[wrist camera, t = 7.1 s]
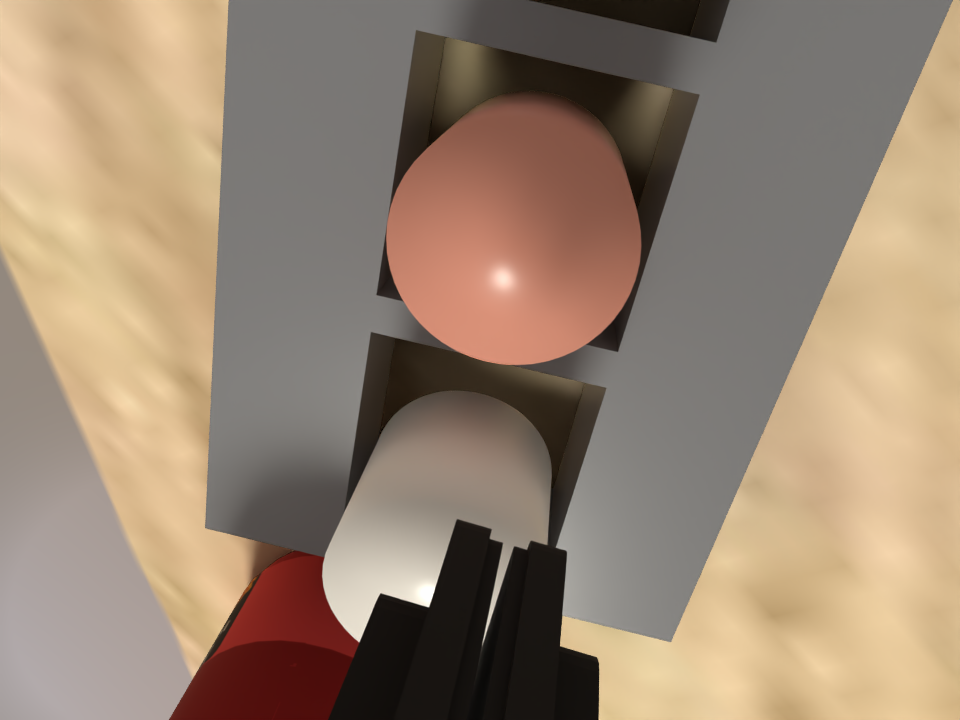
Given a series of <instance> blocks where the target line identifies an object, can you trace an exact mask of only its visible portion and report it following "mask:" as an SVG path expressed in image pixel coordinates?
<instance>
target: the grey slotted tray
mask: <svg viewBox="0 0 960 720" xmlns="http://www.w3.org/2000/svg"><path fill="white" fill-rule="evenodd" d="M952 1H953V0H701V1H700V4H699V7H698V11H697V14H696V17H695V21H694V24H693V27H692V31H691V34H690V36H686V35H682V34H677V33H673V32H669V31H664V30H660V29H655V28H651V27H646V26H642V25H638V24H633V23H629V22H624V21H620V20H615V19H611V18H607V17H602V16H598V15H593V14H589V13H584V12H580V11H576V10H571V9H567V8H562V7H558V6H553V5H549V4H545V3H540V2H536V1H531V0H229V6H228V28H227V50H226V73H225V95H224V118H223V140H222V163H221V185H220V208H219V230H218V252H217V275H216V297H215V320H214V342H213V365H212V387H211V410H210V432H209V454H208V477H207V499H206V522H205V528H207V529H211V530H215V531H219V532H223V533H227V534H231V535H235V536H239V537H243V538H248V539H252V540H256V541H260V542H264V543H268V544H272V545H276V546H280V547H284V548H288V549H292V550H297V551H301V552H305V553H309V554H313V555H317V556H321V557H325V554H326V551H327V549H328V547H329V544H330V542H331V540H332V538H333V536H334V533H335V531H336V529H337V527H338V525H339V523H340V521H341V518H342V516H343V514H344V512H345V510H346V508H347V506H348V504H349V501H350V499H351V497H352V495H353V493H354V491H355V489H356V487H357V484H358V482H359V480H360V478H361V476H362V474H363V472H364V469H365V467H366V465H367V463H368V461H369V459H370V457H371V455H372V452H373V450H374V448H375V446H376V444H377V442H378V439H379V433H380V427H381V421H382V415H383V409H384V403H385V397H386V391H387V385H388V379H389V373H390V367H391V361H392V355H393V349H394V343H395V338H399V339H403V340H407V341H411V342H415V343H420V344H424V345H428V346H432V347H437V348H441V349H445V350H449V351H453V352H458V351H456V350H454V349H452V348H451V347H449V346H447V345H446V344H444V343H442V342H441V341H440V340H438V339H437V338H436V337H434V336H433V335H432V334H431V333H429V332H428V331H427V330H426V329H425V328H424V327H423V326H422V325H421V324H420V323H419V322H418V320H417V319H416V318H415V317H414V316H413V314H412V313H411V312H410V311H409V309H408V307H407V306H406V304H405V303H404V301H403V299H402V298H401V296H400V294H399V292H398V289H397V287H396V285H395V283H394V280H393V277H392V273H391V270H390V266H389V261H388V255H387V242H386V234H387V221H388V217H389V212H390V207H391V204H392V201H393V198H394V196H395V193H396V190H397V188H398V186H399V184H400V183H401V181H402V179H403V177H404V175H405V174H406V172H407V171H408V170H409V168H410V167H411V165H412V164H413V163H414V161H415V160H416V159H417V158H418V157H419V156H420V155H421V154H422V153H423V152H424V151H425V150H426V149H427V144H428V138H429V132H430V126H431V120H432V114H433V108H434V102H435V96H436V90H437V84H438V78H439V72H440V66H441V60H442V54H443V48H444V42H445V37H449V38H453V39H458V40H462V41H466V42H471V43H475V44H480V45H484V46H488V47H493V48H497V49H502V50H506V51H510V52H515V53H519V54H524V55H528V56H532V57H537V58H541V59H546V60H550V61H554V62H559V63H563V64H568V65H572V66H576V67H581V68H585V69H589V70H594V71H598V72H603V73H607V74H611V75H616V76H620V77H625V78H629V79H633V80H638V81H642V82H647V83H651V84H655V85H660V86H664V87H669V88H673V89H674V90H673V94H672V97H671V100H670V103H669V107H668V110H667V113H666V117H665V120H664V123H663V127H662V130H661V133H660V137H659V140H658V143H657V147H656V150H655V153H654V156H653V160H652V163H651V166H650V170H649V173H648V176H647V180H646V183H645V186H644V190H643V193H642V196H641V200H640V203H639V206H638V209H637V213H638V218H639V223H640V229H641V255H640V264H639V268H638V272H637V276H636V280H635V283H634V285H633V288H632V290H631V293H630V295H629V297H628V299H627V300H626V302H625V304H624V306H623V308H622V309H621V310H620V312H619V313H618V315H617V316H616V317H615V319H614V320H613V321H612V322H611V323H610V324H609V325H608V326H607V327H606V328H605V329H604V330H603V332H601V333H600V334H599V335H598V336H596V337H595V338H594V339H593V340H591V341H590V342H589V343H587V344H586V345H584V346H582V347H581V348H579V349H577V350H576V351H573V352H571V353H569V354H567V355H564V356H562V357H559V358H556V359H553V360H550V361H546V362H540V363H535V364H525V365H512V366H517V367H521V368H525V369H529V370H533V371H538V372H542V373H546V374H550V375H554V376H559V377H563V378H567V379H571V380H576V381H580V382H584V383H585V385H584V388H583V392H582V395H581V398H580V402H579V405H578V408H577V412H576V415H575V418H574V422H573V425H572V428H571V431H570V435H569V438H568V441H567V445H566V448H565V451H564V455H563V458H562V461H561V465H560V468H559V471H558V475H557V478H556V481H555V484H554V488H551V494H550V510H549V526H548V542H547V545H549V546H552V547H555V548H559V549H562V550H566V551H567V563H566V576H565V588H564V600H563V612H562V616H566V617H570V618H574V619H579V620H583V621H587V622H591V623H595V624H599V625H603V626H607V627H611V628H615V629H619V630H624V631H628V632H632V633H636V634H640V635H644V636H648V637H652V638H656V639H660V640H664V641H668V642H671V641H672V638H673V636H674V634H675V631H676V629H677V627H678V625H679V622H680V620H681V618H682V615H683V613H684V611H685V609H686V606H687V604H688V602H689V600H690V597H691V595H692V593H693V590H694V588H695V586H696V584H697V581H698V579H699V577H700V574H701V572H702V570H703V568H704V565H705V563H706V561H707V559H708V556H709V554H710V552H711V549H712V547H713V545H714V543H715V540H716V538H717V536H718V534H719V531H720V529H721V527H722V524H723V522H724V520H725V518H726V515H727V513H728V511H729V508H730V506H731V504H732V502H733V499H734V497H735V495H736V493H737V490H738V488H739V486H740V483H741V481H742V479H743V477H744V474H745V472H746V470H747V467H748V465H749V463H750V461H751V458H752V456H753V454H754V452H755V449H756V447H757V445H758V442H759V440H760V438H761V436H762V433H763V431H764V429H765V427H766V424H767V422H768V420H769V417H770V415H771V413H772V411H773V408H774V406H775V404H776V401H777V399H778V397H779V395H780V392H781V390H782V388H783V386H784V383H785V381H786V379H787V376H788V374H789V372H790V370H791V367H792V365H793V363H794V360H795V358H796V356H797V354H798V351H799V349H800V347H801V345H802V342H803V340H804V338H805V335H806V333H807V331H808V329H809V326H810V324H811V322H812V320H813V317H814V315H815V313H816V310H817V308H818V306H819V304H820V301H821V299H822V297H823V294H824V292H825V290H826V288H827V285H828V283H829V281H830V279H831V276H832V274H833V272H834V269H835V267H836V265H837V263H838V260H839V258H840V256H841V253H842V251H843V249H844V247H845V244H846V242H847V240H848V238H849V235H850V233H851V231H852V228H853V226H854V224H855V222H856V219H857V217H858V215H859V213H860V210H861V208H862V206H863V203H864V201H865V199H866V197H867V194H868V192H869V190H870V187H871V185H872V183H873V181H874V178H875V176H876V174H877V172H878V169H879V167H880V165H881V162H882V160H883V158H884V156H885V153H886V151H887V149H888V146H889V144H890V142H891V140H892V137H893V135H894V133H895V131H896V128H897V126H898V124H899V121H900V119H901V117H902V115H903V112H904V110H905V108H906V106H907V103H908V101H909V99H910V96H911V94H912V92H913V90H914V87H915V85H916V83H917V80H918V78H919V76H920V74H921V71H922V69H923V67H924V65H925V62H926V60H927V58H928V55H929V53H930V51H931V49H932V46H933V44H934V42H935V39H936V37H937V35H938V33H939V30H940V28H941V26H942V24H943V21H944V19H945V17H946V14H947V12H948V10H949V8H950V5H951V3H952ZM458 353H460V352H458ZM462 354H463V353H462Z"/></svg>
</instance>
